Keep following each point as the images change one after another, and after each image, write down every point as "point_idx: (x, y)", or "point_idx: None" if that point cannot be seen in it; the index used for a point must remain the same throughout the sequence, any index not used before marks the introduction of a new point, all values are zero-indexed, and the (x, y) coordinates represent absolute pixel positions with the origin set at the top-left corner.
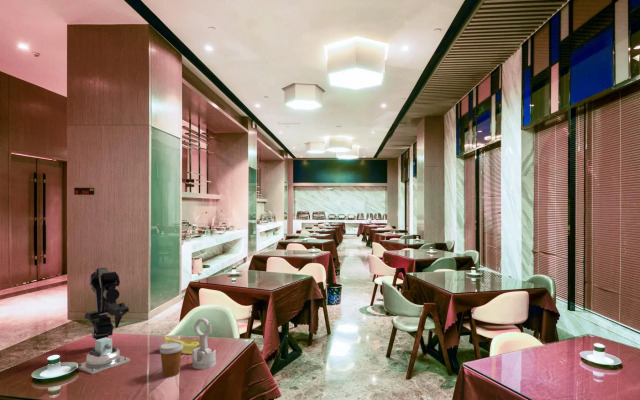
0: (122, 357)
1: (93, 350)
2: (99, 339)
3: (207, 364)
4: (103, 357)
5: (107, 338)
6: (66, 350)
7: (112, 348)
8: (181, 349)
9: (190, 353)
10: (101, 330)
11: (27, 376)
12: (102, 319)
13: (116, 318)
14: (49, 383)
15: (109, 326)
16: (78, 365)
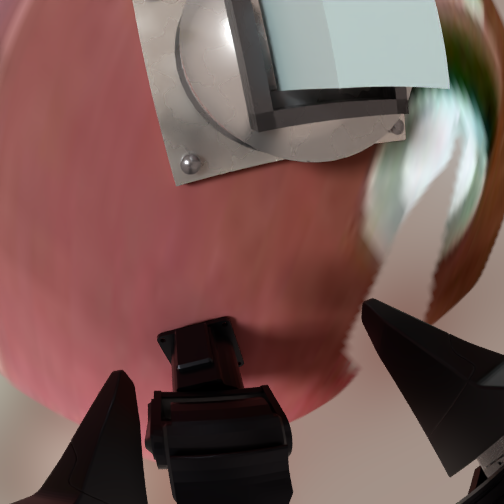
0: (155, 37)
1: (384, 100)
2: (420, 70)
3: None
4: None
5: (348, 16)
6: (316, 385)
7: (252, 10)
8: None
9: None
10: (241, 417)
11: (488, 191)
12: (244, 501)
13: (125, 493)
14: (480, 53)
15: (181, 441)
16: (399, 118)
